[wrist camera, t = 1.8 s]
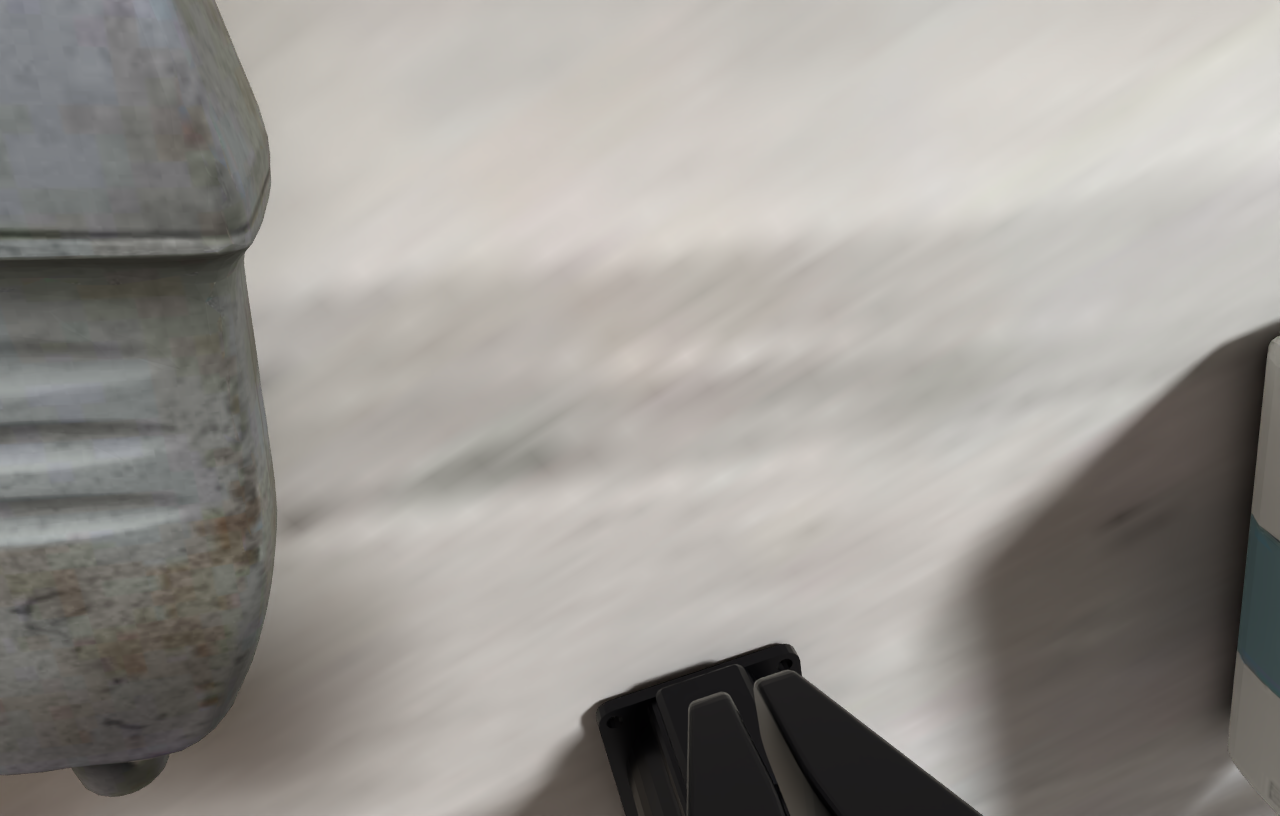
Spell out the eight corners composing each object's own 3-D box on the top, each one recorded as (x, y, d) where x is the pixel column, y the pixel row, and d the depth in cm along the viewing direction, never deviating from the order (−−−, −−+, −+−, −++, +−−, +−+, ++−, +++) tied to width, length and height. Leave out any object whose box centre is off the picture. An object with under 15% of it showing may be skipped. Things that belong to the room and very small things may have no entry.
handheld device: (-62, 760, 22) (-158, 940, 18) (-460, -188, 13) (-828, -238, 9) (338, 707, 25) (329, 857, 21) (244, -121, 15) (196, -138, 11)
